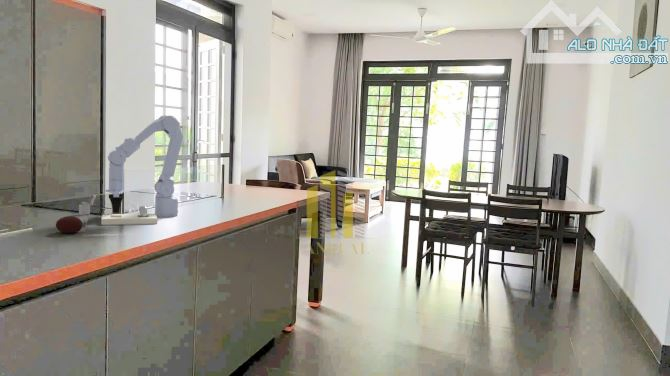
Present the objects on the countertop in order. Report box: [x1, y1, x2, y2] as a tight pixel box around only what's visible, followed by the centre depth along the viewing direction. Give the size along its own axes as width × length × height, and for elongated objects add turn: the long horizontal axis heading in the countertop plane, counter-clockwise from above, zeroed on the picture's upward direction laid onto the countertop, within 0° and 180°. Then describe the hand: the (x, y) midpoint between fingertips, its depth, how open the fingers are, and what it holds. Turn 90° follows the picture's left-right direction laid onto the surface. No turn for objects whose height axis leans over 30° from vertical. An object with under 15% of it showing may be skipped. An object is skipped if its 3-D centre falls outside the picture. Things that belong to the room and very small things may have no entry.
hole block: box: [100, 213, 158, 226], centre depth 189 cm, size 20×10×3 cm, turn 115°
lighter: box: [78, 194, 97, 216], centre depth 201 cm, size 7×2×8 cm, turn 156°
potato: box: [55, 215, 84, 234], centre depth 168 cm, size 7×8×6 cm
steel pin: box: [139, 205, 148, 217], centre depth 191 cm, size 3×3×6 cm
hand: (115, 211), depth 196 cm, fingers closed on walnut pin, 3 cm apart
